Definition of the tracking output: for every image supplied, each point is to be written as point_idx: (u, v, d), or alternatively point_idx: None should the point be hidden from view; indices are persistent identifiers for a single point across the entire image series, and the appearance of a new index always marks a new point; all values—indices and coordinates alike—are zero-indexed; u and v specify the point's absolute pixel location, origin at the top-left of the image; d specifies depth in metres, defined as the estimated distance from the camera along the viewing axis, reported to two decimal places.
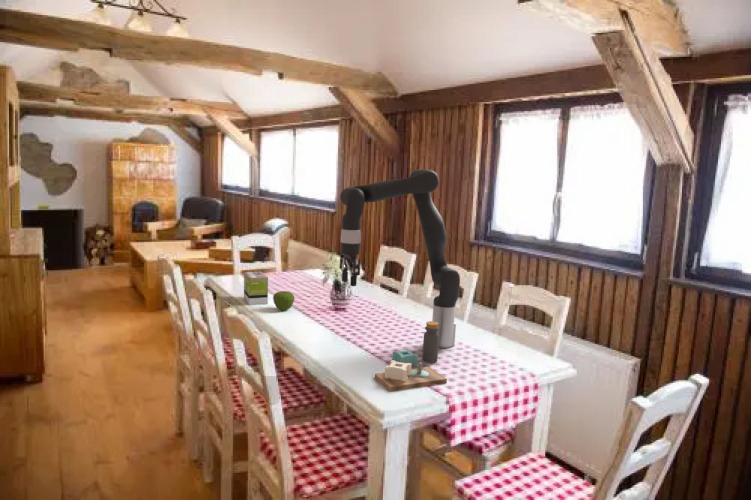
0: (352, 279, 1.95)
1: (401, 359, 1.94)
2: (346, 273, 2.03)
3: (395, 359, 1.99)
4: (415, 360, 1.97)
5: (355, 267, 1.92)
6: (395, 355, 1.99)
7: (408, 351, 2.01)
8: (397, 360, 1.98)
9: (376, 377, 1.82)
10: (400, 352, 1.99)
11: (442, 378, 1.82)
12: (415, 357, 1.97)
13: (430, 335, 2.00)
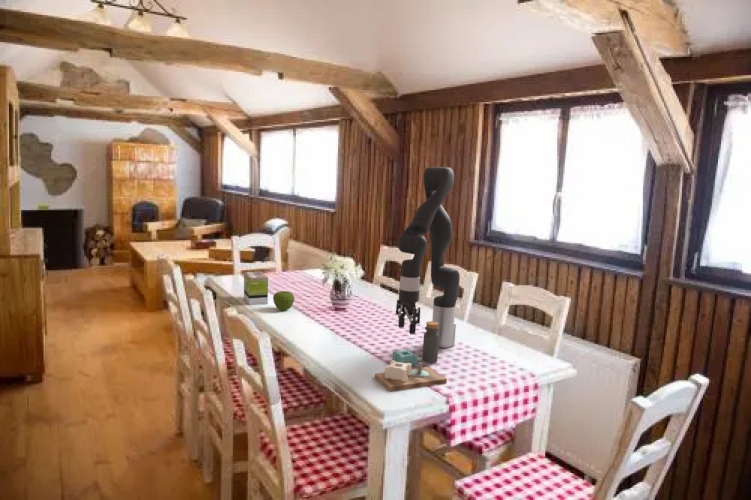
0: (411, 327, 1.92)
1: (401, 359, 1.94)
2: (403, 319, 2.00)
3: (395, 359, 1.99)
4: (415, 360, 1.97)
5: (415, 315, 1.90)
6: (395, 355, 1.99)
7: (408, 351, 2.01)
8: (397, 360, 1.98)
9: (376, 377, 1.82)
10: (400, 352, 1.99)
11: (442, 378, 1.82)
12: (415, 357, 1.97)
13: (430, 335, 2.00)
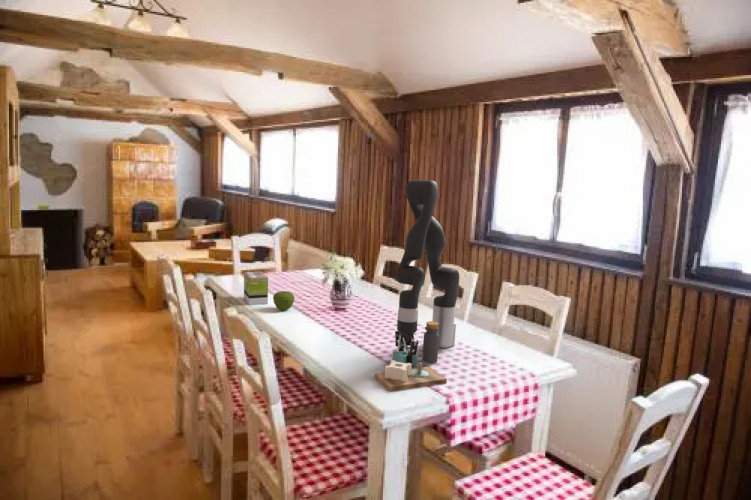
0: (408, 358, 1.95)
1: (401, 359, 1.94)
2: None
3: (395, 359, 1.99)
4: (415, 360, 1.97)
5: (413, 348, 1.92)
6: (395, 355, 1.99)
7: None
8: (397, 360, 1.98)
9: (376, 377, 1.82)
10: (400, 352, 1.99)
11: (442, 378, 1.82)
12: (415, 357, 1.97)
13: (430, 335, 2.00)
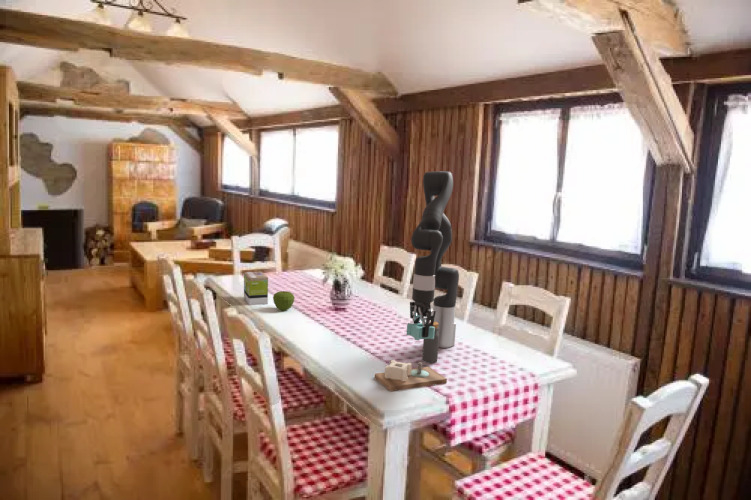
0: (424, 330, 1.79)
1: (416, 331, 1.79)
2: None
3: (410, 332, 1.84)
4: (431, 332, 1.81)
5: (429, 319, 1.77)
6: (410, 327, 1.84)
7: None
8: (412, 333, 1.83)
9: (376, 377, 1.82)
10: (415, 324, 1.84)
11: (442, 378, 1.82)
12: (431, 329, 1.81)
13: None
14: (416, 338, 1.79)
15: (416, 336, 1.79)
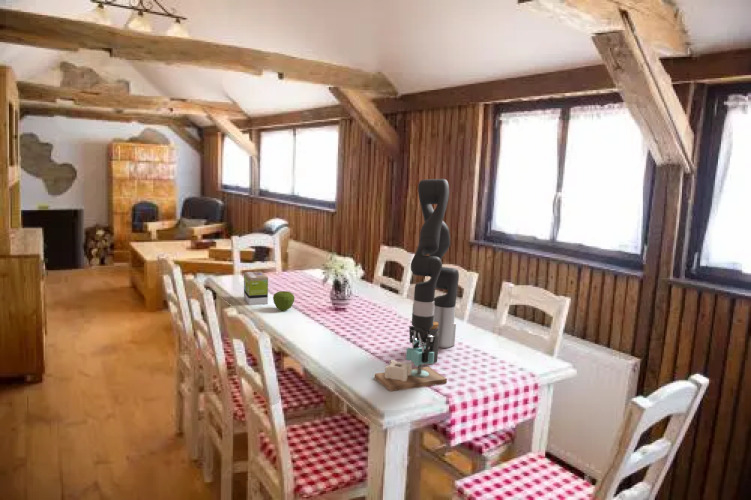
0: (424, 355, 1.81)
1: (416, 356, 1.80)
2: None
3: (409, 356, 1.85)
4: (431, 358, 1.82)
5: (429, 345, 1.78)
6: (409, 352, 1.85)
7: None
8: (411, 358, 1.84)
9: (376, 377, 1.82)
10: (415, 349, 1.85)
11: (442, 378, 1.82)
12: (431, 354, 1.82)
13: None
14: (416, 363, 1.80)
15: (416, 362, 1.80)
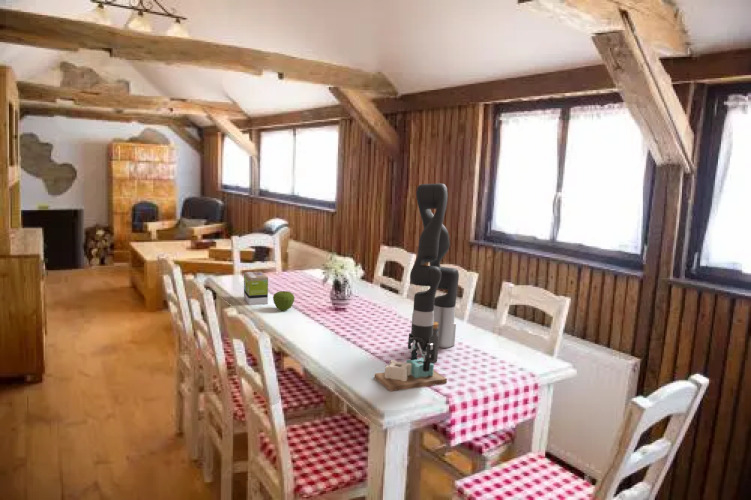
0: (425, 364, 1.80)
1: (416, 369, 1.81)
2: (415, 354, 1.88)
3: None
4: (431, 369, 1.83)
5: (430, 352, 1.77)
6: None
7: (423, 360, 1.87)
8: (411, 369, 1.85)
9: (376, 377, 1.82)
10: (414, 361, 1.86)
11: (442, 378, 1.82)
12: (431, 366, 1.83)
13: None
14: (415, 376, 1.81)
15: (415, 374, 1.81)
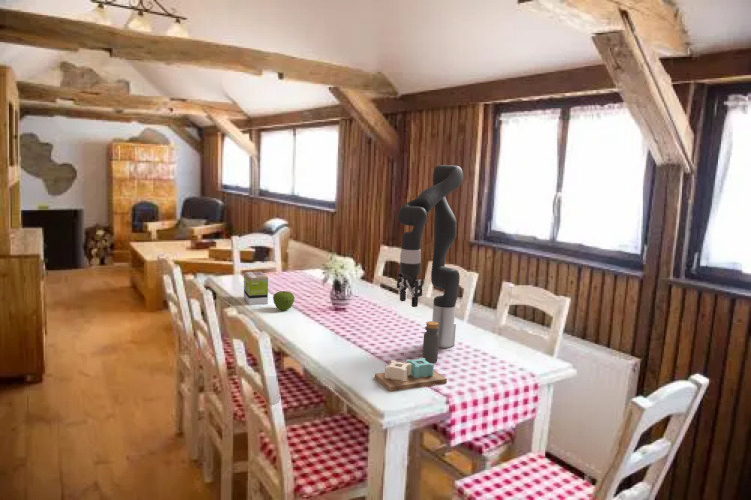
0: (414, 300, 1.90)
1: (416, 369, 1.81)
2: (404, 293, 1.98)
3: None
4: (431, 369, 1.83)
5: (417, 288, 1.87)
6: None
7: (423, 360, 1.87)
8: (411, 369, 1.85)
9: (376, 377, 1.82)
10: (414, 361, 1.86)
11: (442, 378, 1.82)
12: (431, 366, 1.83)
13: (430, 335, 2.00)
14: (415, 376, 1.81)
15: (415, 374, 1.81)
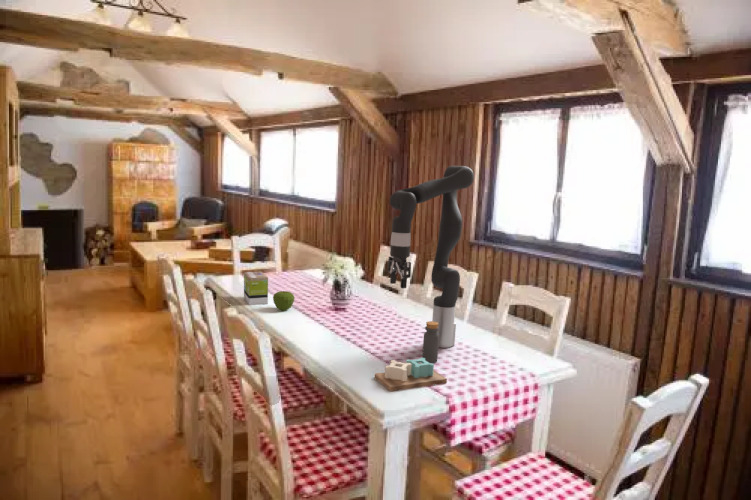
0: (402, 281, 1.98)
1: (416, 369, 1.81)
2: (394, 276, 2.06)
3: None
4: (431, 369, 1.83)
5: (406, 270, 1.95)
6: None
7: (423, 360, 1.87)
8: (411, 369, 1.85)
9: (376, 377, 1.82)
10: (414, 361, 1.86)
11: (442, 378, 1.82)
12: (431, 366, 1.83)
13: (430, 335, 2.00)
14: (415, 376, 1.81)
15: (415, 374, 1.81)
